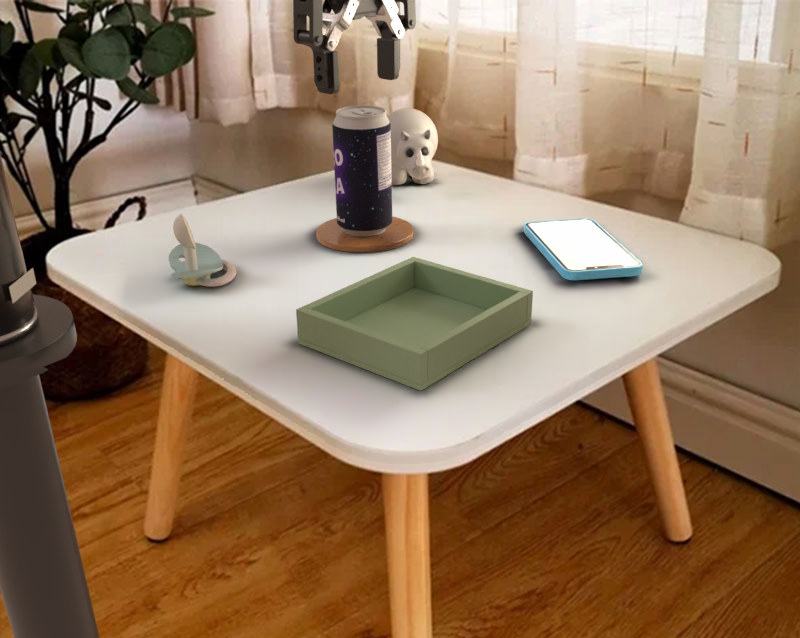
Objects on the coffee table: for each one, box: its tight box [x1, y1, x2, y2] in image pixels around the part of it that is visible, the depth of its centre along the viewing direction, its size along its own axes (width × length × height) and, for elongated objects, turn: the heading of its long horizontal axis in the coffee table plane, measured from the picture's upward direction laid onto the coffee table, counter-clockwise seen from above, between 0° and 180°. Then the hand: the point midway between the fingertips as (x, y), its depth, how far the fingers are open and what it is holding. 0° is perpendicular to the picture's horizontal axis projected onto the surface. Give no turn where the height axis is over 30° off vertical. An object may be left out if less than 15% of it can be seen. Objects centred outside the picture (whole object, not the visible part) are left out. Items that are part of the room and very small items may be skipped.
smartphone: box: [523, 217, 644, 281], centre depth 92 cm, size 8×1×15 cm
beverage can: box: [331, 104, 393, 237], centre depth 94 cm, size 6×6×12 cm
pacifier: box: [168, 213, 237, 288], centre depth 86 cm, size 7×6×6 cm
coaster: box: [316, 216, 414, 253], centre depth 97 cm, size 10×10×1 cm
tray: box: [295, 256, 534, 392], centre depth 76 cm, size 15×13×3 cm
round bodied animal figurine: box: [386, 107, 439, 186], centre depth 110 cm, size 7×12×8 cm, turn 8°
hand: (358, 85), depth 90 cm, fingers open, 8 cm apart
